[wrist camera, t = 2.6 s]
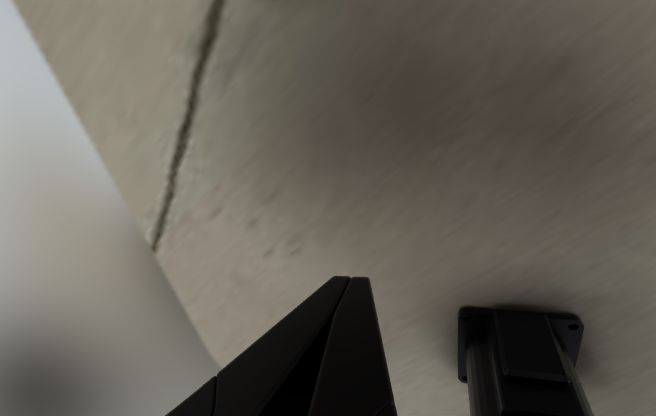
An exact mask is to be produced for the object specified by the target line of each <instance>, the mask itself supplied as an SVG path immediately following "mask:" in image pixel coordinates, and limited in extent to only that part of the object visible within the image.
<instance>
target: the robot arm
mask: <svg viewBox="0 0 656 416" xmlns="http://www.w3.org/2000/svg"><path fill="white" fill-rule="evenodd" d="M464 316H469V317H464ZM570 324H573V325H570ZM583 329H584V325H583V323H582V321H581V319H580V318H579V317H577V316H574V315H564V314H549V313H533V312H518V311H503V310H487V309H472V308H463V309H460V310H459V311H458V379H459V380H460V381H461V382H463V383H468V392H469V403H470V415H471V416H594V415H593V412H592V410H591V407H590V405H589V402H588V400H587V397H586V395H585V392H584V390H583V387H582V385H581V382H580V380H579V377H578V375H577V372H576V370H575V365H576V360H577V356H578V351H579V347H580V343H581V338H582V334H583ZM165 416H397V411H396V407H395V403H394V397H393V392H392V387H391V382H390V377H389V373H388V368H387V363H386V358H385V353H384V348H383V343H382V338H381V333H380V328H379V323H378V318H377V313H376V308H375V303H374V298H373V293H372V288H371V283H370V279H369V278H368V277H352V278H350V277H349V276H334V277H332V278H331V279H330V280H328V281H327V282H326V283H325V284H324V285H323V286H321V287H320V288H319V289H318V290H317V291H315V292H314V293H313V294H312V295H311V296H309V297H308V298H307V299H306V300H305V301H303V302H302V303H301V304H300V305H299V306H297V307H296V308H295V309H294V310H293V311H291V312H290V313H289V314H288V315H287V316H285V317H284V318H283V319H282V320H281V321H279V322H278V323H277V324H276V325H275V326H273V327H272V328H271V329H270V330H269V331H268V332H266V333H265V334H264V335H263V336H262V337H260V338H259V339H258V340H257V341H256V342H254V343H253V344H252V345H251V346H250V347H248V348H247V349H246V350H245V351H244V352H242V353H241V354H240V355H239V356H238V357H236V358H235V359H234V360H233V361H232V362H230V363H229V364H228V365H227V366H226V367H224V368H223V369H222V370H221V371H220V372H219V373H218V374H217V377H216V376H214V377H212V378H211V379H210V380H209V381H208V382H206V383H205V384H204V385H203V386H202V387H200V388H199V389H198V390H197V391H196V392H194V393H193V394H192V395H190V396H189V397H188V398H187V399H186V400H184V401H183V402H182V403H181V404H180V405H178V406H177V407H176V408H174V409H173V410H172V411H170V412H169V413H168V414H167V415H165Z"/></svg>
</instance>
